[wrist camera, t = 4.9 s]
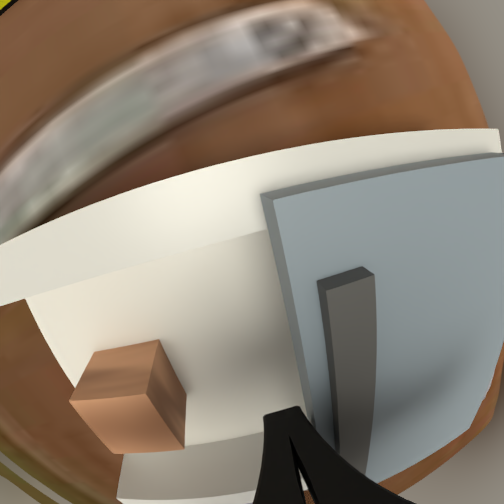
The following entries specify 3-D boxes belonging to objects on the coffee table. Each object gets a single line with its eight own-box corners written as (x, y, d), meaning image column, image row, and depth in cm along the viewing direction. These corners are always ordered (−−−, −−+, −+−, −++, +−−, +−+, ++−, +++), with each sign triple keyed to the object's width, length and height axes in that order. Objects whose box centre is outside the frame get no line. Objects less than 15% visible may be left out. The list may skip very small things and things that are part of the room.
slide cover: (456, 414, 13) (473, 433, 11) (319, 482, 12) (329, 510, 10) (491, 152, 8) (531, 155, 6) (259, 194, 7) (279, 203, 5)
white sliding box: (426, 372, 19) (464, 411, 13) (139, 454, 17) (131, 509, 12) (426, 132, 13) (498, 129, 8) (14, 240, 12) (-49, 272, 6)
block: (186, 394, 14) (184, 449, 11) (126, 403, 14) (113, 453, 10) (159, 339, 13) (145, 393, 9) (94, 351, 13) (69, 400, 9)
